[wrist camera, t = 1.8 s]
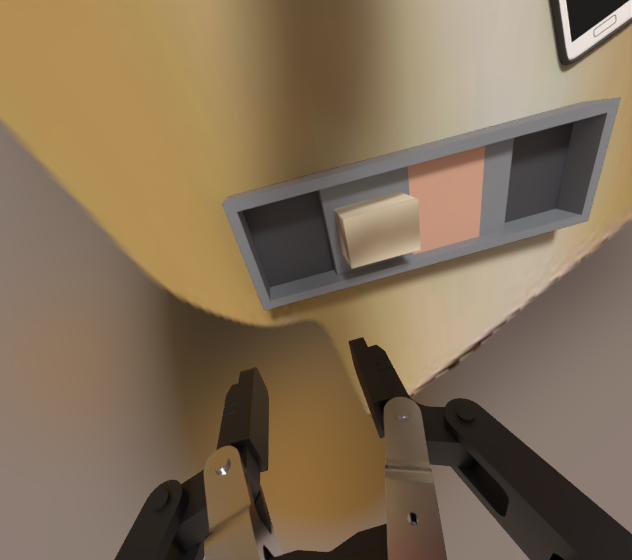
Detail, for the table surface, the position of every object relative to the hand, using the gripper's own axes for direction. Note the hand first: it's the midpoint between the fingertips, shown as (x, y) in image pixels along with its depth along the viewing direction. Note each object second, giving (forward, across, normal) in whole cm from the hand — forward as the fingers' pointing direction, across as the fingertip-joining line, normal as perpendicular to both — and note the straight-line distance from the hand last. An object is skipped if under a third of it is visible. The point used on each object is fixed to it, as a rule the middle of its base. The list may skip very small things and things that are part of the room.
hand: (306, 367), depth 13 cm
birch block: (+17, -9, 0) cm, 20 cm away
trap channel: (+19, -14, 0) cm, 24 cm away
